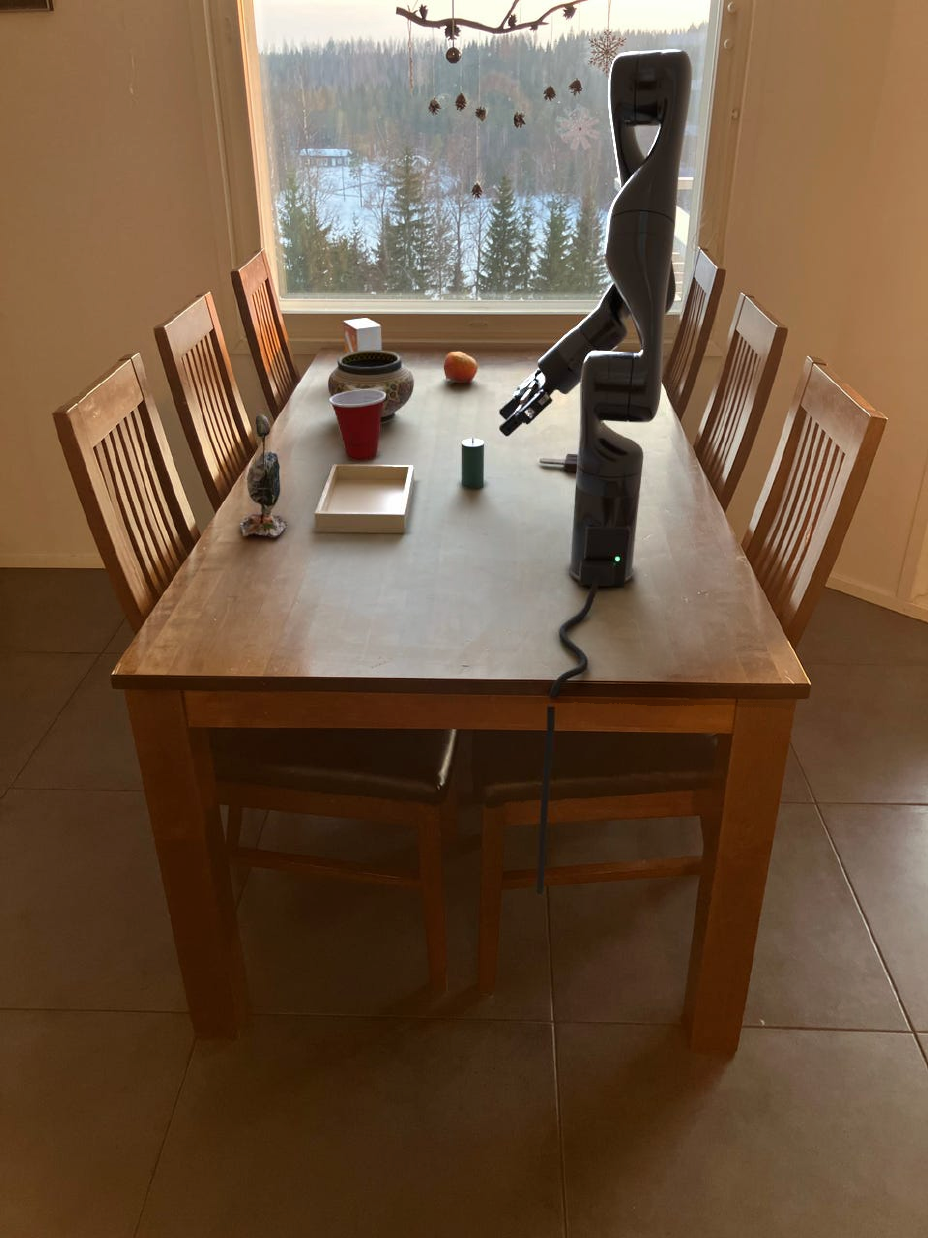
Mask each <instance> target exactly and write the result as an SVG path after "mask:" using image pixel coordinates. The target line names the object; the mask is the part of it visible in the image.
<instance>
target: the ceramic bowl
mask: <svg viewBox="0 0 928 1238" xmlns="http://www.w3.org/2000/svg"><path fill="white" fill-rule="evenodd" d="M414 388H415V380H414V376H413V374H412V371H411V370H410V369H409V368H408V367H407V366H406V365H405V364H403V359H402V356H401V354H398V353H397V352H394V351H390V350H383V349H382V350H366V351H356V352H351V353H347V354H345V353H343V354H341V355H340V356H338V358H337V367H335V368H334V369H333V370H332V371H331V372H330V374H329V377H328V381H327V390H328V392H329V396H330V397H332V396H334V395H336V394H339V393H342V392H347V391H352V390H364V389H366V390H378V391H382V392H384V393H386V397H385V399H384V403H383V408H382V414H381V424H380V425H382V424H383V425H384V424H387V423H389V422H391V421H393V420H395V418H396V412H398V411H399V410H400V409H402V408H403V407H404V406H406V404H407V403H408V401H409V400H410V398H411V396H412V394H413V392H414Z"/></svg>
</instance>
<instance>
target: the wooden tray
mask: <svg viewBox="0 0 928 1238" xmlns="http://www.w3.org/2000/svg"><path fill="white" fill-rule="evenodd" d="M414 482H415V466H414V465H413V464H340V463H339V464H332V467H331V469H330V472H329V474H328V477H327V480H326V483H325V485H324V488H323V491H322V493H321V496H320V498H319V500H318V503H317V506H316V508H315V511H314V523H315V524H314V527H315V532H316V533H381V534H382V533H385V534H387V533H388V534H391V533H393V534H405V533H406V528H407V523H408V518H409V511H410V507H411V501H412V495H413V489H414V485H415V483H414Z"/></svg>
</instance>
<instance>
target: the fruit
mask: <svg viewBox="0 0 928 1238" xmlns="http://www.w3.org/2000/svg"><path fill="white" fill-rule="evenodd" d="M478 368H479V365H478V363H477V362H476V360H475V358H473V357H472V356H469V355H468V354H466V353H464V352H462V351H451V352H449V353H448V354H447V355H446V357H445V359H444V362H443V373H444V375H445V381H447V380H449V382H450V384H449V385H450V386H452V384H454V383H459V384H469V383H471V382H472V381H473V379H474V378H475V376H476V374H477V373H478Z"/></svg>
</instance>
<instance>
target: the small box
mask: <svg viewBox="0 0 928 1238" xmlns="http://www.w3.org/2000/svg"><path fill="white" fill-rule="evenodd" d="M343 335H344V352H345V353H344V354H347V353H351V352H356V351H366V350H382V351H383V346H382V345H383V343H382V326H381V324H379V323H377V322H376V321H373V320H371V319H369V318H366V317H365V318H357V319H349V320H343Z"/></svg>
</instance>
